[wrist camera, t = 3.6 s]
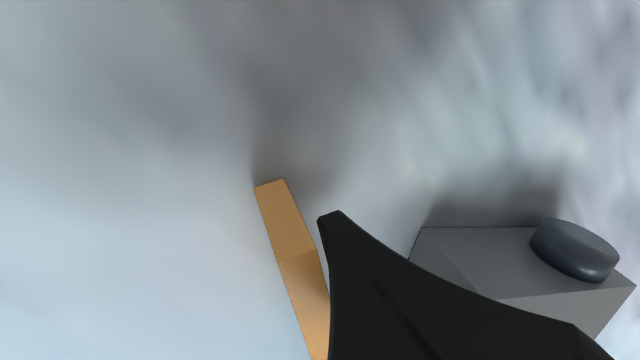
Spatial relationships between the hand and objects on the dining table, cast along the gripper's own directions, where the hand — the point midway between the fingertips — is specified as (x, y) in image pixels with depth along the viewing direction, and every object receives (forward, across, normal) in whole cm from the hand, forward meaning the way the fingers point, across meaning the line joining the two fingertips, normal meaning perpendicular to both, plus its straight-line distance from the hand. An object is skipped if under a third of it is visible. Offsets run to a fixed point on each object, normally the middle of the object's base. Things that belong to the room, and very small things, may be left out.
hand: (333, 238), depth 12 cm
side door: (+2, +1, +6) cm, 6 cm away
